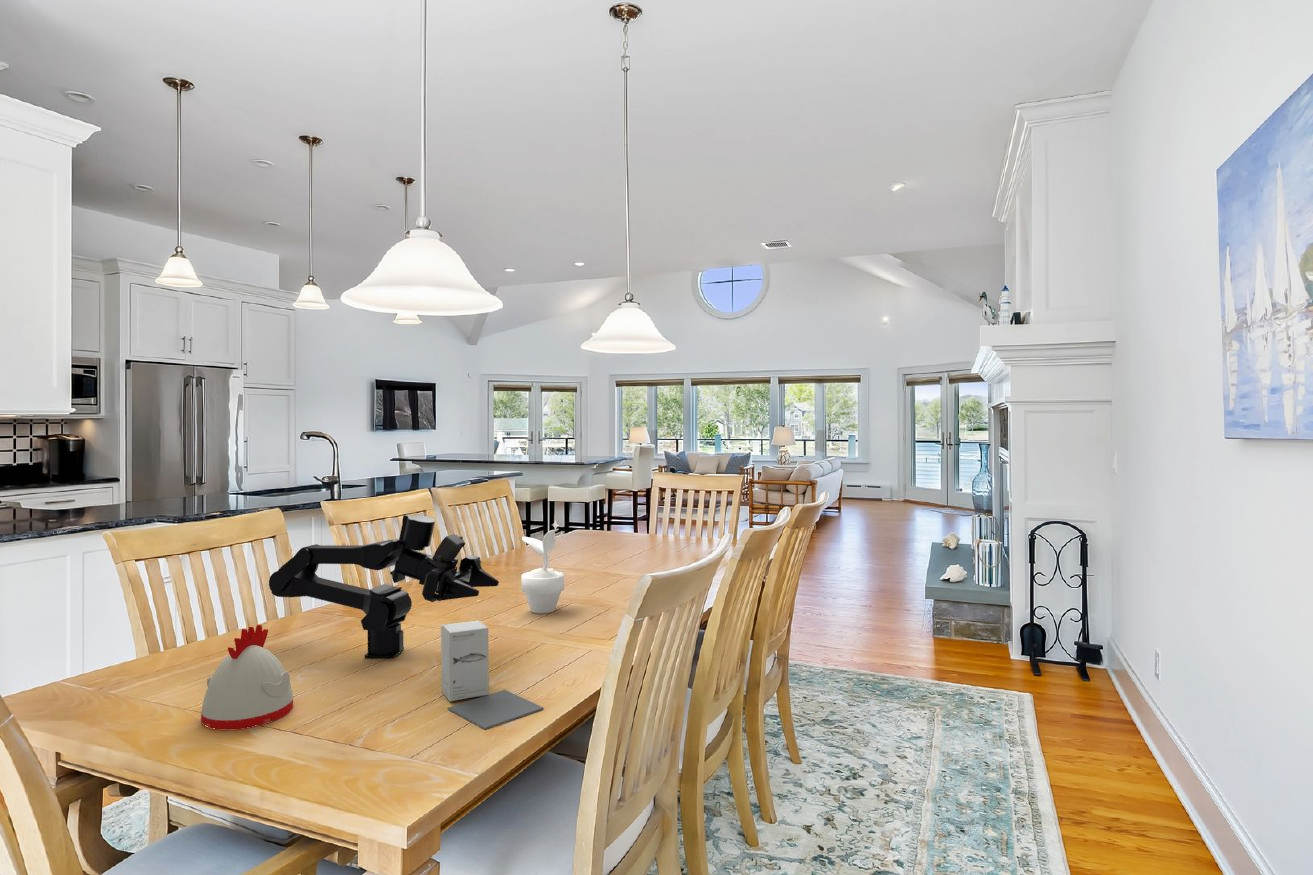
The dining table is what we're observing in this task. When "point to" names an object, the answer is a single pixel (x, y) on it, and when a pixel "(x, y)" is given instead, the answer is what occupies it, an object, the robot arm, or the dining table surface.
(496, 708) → the mat
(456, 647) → the supplement box
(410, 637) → the dining table surface
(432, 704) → the dining table surface
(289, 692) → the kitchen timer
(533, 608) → the potted plant
